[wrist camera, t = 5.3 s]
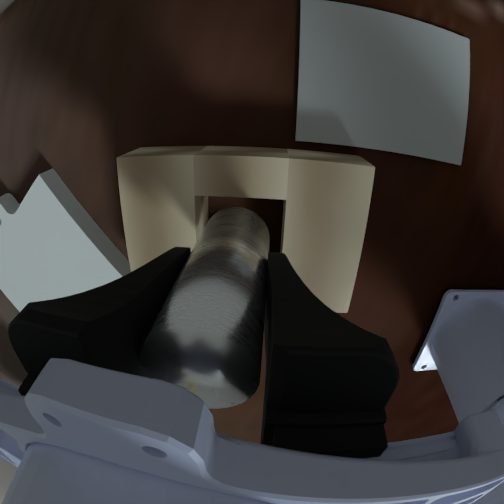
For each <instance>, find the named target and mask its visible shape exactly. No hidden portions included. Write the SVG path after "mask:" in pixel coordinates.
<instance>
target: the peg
mask: <svg viewBox="0 0 504 504" xmlns="http://www.w3.org/2000/svg"><path fill="white" fill-rule="evenodd" d="M269 243H270V236H269V231H268V228H267V225H266V224H265V222H264V221H263V219H262V218H261V217H260V216H259V215H257V214H256V213H255V212H253V211H251V210H249V209H246V208H242V207H229V208H225V209H222V210H220V211H218V212H217V213H215V214H214V215H213V216H212V217H211V218H210V220H209V221H208V223H207V224H206V226H205V228H204V230H203V232H202V233H201V235H200V237H199V239H198V241H197V242H196V244H195V246H194V248H193V250H192V252H191V253H190V255H189V257H188V259H187V261H186V263H185V264H184V266H183V268H182V270H181V272H180V274H179V276H178V278H177V279H176V281H175V283H174V285H173V287H172V289H171V291H170V293H169V295H168V297H167V299H166V300H165V302H164V304H163V306H162V308H161V310H160V312H159V314H158V316H157V318H156V320H155V322H154V324H153V326H152V328H151V330H150V332H149V334H148V336H147V338H146V340H145V342H144V344H143V346H142V349H141V353H140V361H141V366H142V368H143V371H144V373H145V374H146V376H147V377H149V378H154V379H160V380H163V381H166V382H169V383H172V384H175V385H178V386H182V387H184V388H185V389H187V390H188V391H190V392H191V393H193V394H194V395H196V396H197V397H199V398H200V399H202V400H203V401H204V402H205V404H206V406H207V407H208V408H226V407H231V406H235V405H238V404H240V403H242V402H244V401H246V400H248V399H249V398H250V397H251V396H252V395H253V394H254V393H255V392H256V390H257V388H258V386H259V382H260V372H261V359H262V346H263V332H264V318H265V304H266V289H267V263H268V252H269Z"/></svg>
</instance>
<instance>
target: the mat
mask: <svg viewBox="0 0 504 504" xmlns="http://www.w3.org/2000/svg"><path fill="white" fill-rule="evenodd" d="M469 81H470V41H469V39H468V38H465V37H463V36H460V35H458V34H455V33H453V32H450V31H447V30H445V29H442V28H439V27H436V26H434V25H431V24H428V23H424V22H421V21H418V20H415V19H411V18H408V17H404V16H401V15H397V14H393V13H389V12H385V11H381V10H377V9H372V8H367V7H362V6H357V5H352V4H346V3H340V2H333V1H325V0H300V45H299V74H298V98H297V118H296V136H295V141H306V142H317V143H327V144H337V145H346V146H354V147H362V148H369V149H376V150H383V151H389V152H395V153H401V154H407V155H413V156H418V157H423V158H428V159H433V160H438V161H443V162H447V163H452V164H456V165H461V162H462V156H463V149H464V141H465V133H466V124H467V114H468V101H469Z"/></svg>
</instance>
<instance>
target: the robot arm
mask: <svg viewBox="0 0 504 504" xmlns="http://www.w3.org/2000/svg"><path fill="white" fill-rule="evenodd" d="M190 253H191V249H190V247H174V248H172V249H170V250H168V251H166V252H165V253H163V254H161V255H160V256H158V257H156V258H155V259H153V260H151V261H150V262H148V263H146V264H145V265H143V266H141V267H139V268H138V269H136V270H134V271H132V272H130V273H128V274H127V275H125V276H123V277H121V278H119V279H116V280H114V281H112V282H110V283H107V284H105V285H102V286H99V287H97V288H94V289H91V290H88V291H85V292H82V293H78V294H74V295H71V296H66V297H62V298H57V299H52V300H45V301H38V302H29V303H28V304H27V305H26V306H25V307H24V308H23V309H22V311H21V312H20V313H19V314H18V315H17V316H16V317H15V318H14V319H13V320H12V322H11V323H10V324H9V329H8V332H9V338H10V341H11V344H12V346H13V348H14V350H15V352H16V354H17V356H18V357H19V359H20V361H21V363H22V364H23V366H24V368H25V370H26V371H27V373H28V376H27V377H26V378H25V380H24V381H23V383H22V384H21V386H20V387H17V386H15V385H12V384H10V383H8V382H6V381H4V380H2V379H0V455H1V456H2V457H3V458H5V459H6V460H8V461H9V462H11V463H12V464H14V465H15V466H17V467H18V469H17V471H16V473H15V475H14V477H13V480H12V482H11V484H10V486H9V488H8V490H7V493H6V495H5V498H4V500H3V502H2V504H504V290H456V289H451V290H448V291H446V292H445V294H444V295H443V298H442V301H441V303H440V306H439V308H438V311H437V313H436V316H435V318H434V320H433V323H432V325H431V327H430V330H429V332H428V334H427V336H426V339H425V341H424V343H423V345H422V347H421V349H420V351H419V353H418V355H417V357H416V360H415V362H414V364H413V369H414V370H415V371H422V370H433V369H437V370H438V372H439V374H440V377H441V379H442V381H443V384H444V386H445V389H446V391H447V394H448V396H449V399H450V401H451V404H452V406H453V409H454V412H455V414H456V417H457V420H458V422H459V425H458V426H457V427H456V429H455V431H453V432H449V433H444V434H439V435H434V436H429V437H424V438H418V439H412V440H405V441H398V442H391V443H387V439H386V434H385V429H384V425H383V423H385V422H386V418H387V417H386V413H385V409H384V408H385V406H386V405H387V403H388V401H389V399H390V398H391V396H392V394H393V392H394V390H395V388H396V387H397V384H398V381H399V368H398V365H397V363H396V360H395V357H394V355H393V352H392V350H391V348H390V346H389V344H388V342H387V340H386V339H385V338H382V337H380V336H378V335H375V334H373V333H371V332H368V331H366V330H364V329H362V328H360V327H358V326H356V325H355V324H353V323H351V322H349V321H348V320H346V319H344V318H343V317H341V316H340V315H338V314H337V313H336V312H334V311H333V310H331V309H330V308H329V307H327V306H326V305H325V304H324V303H323V302H322V301H321V300H319V299H318V298H317V297H316V296H315V295H314V294H313V293H312V292H311V291H310V290H309V288H308V287H307V286H306V285H305V284H304V282H303V281H302V280H301V278H300V277H299V276H298V274H297V273H296V271H295V270H294V268H293V267H292V265H291V263H290V262H289V260H288V258H287V256H286V255H285V254H284V253H271V252H268V263H267V289H266V304H265V318H264V329H265V351H266V378H265V393H264V406H263V420H262V432H261V444H259V443H255V442H250V441H246V440H242V439H238V438H234V437H230V436H226V435H223V434H219V433H216V432H215V429H214V423H213V416H212V414H211V412H210V411H209V409H208V407H207V406H206V404H205V402H204V401H203V400H202V399H200V398H199V397H197V396H196V395H194V394H193V393H191V392H190V391H188V390H187V389H185V388H184V387H182V386H178V385H175V384H172V383H169V382H166V381H163V380H160V379H154V378H149V377H147V376H146V374H145V373H144V371H143V368H142V366H141V361H140V353H141V349H142V346H143V344H144V342H145V340H146V338H147V336H148V334H149V332H150V330H151V328H152V326H153V324H154V322H155V320H156V318H157V316H158V314H159V312H160V310H161V308H162V306H163V304H164V302H165V300H166V299H167V297H168V295H169V293H170V291H171V289H172V287H173V285H174V283H175V281H176V279H177V278H178V276H179V274H180V272H181V270H182V268H183V266H184V264H185V263H186V261H187V259H188V257H189V255H190ZM454 296H456V297H454Z"/></svg>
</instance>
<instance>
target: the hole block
mask: <svg viewBox="0 0 504 504" xmlns="http://www.w3.org/2000/svg"><path fill="white" fill-rule="evenodd" d="M116 158H117V171H118V182H119V192H120V201H121V209H122V217H123V225H124V232H125V238H126V245H127V251H128V257H129V263H130V269H131V272H132V271H134V270H136V269H138V268H139V267H141V266H143V265H145V264H146V263H148V262H150V261H151V260H153V259H155V258H156V257H158V256H160V255H161V254H163V253H165V252H166V251H168V250H170V249H172V248H174V247H190V249H191V252H192V250H193V248H194V246H195V244H196V242H197V241H198V239H199V237H200V235H201V233H202V232H203V230H204V228H205V226H206V224H207V223H208V221H209V213H208V196H221V197H244V198H264V199H280V200H284V206H283V220H282V233H281V247H280V253H284V254H285V255H286V256H287V258H288V260H289V262H290V263H291V265H292V267H293V268H294V270H295V271H296V273H297V274H298V276H299V277H300V278H301V280H302V281H303V282H304V284H305V285H306V286H307V287H308V288H309V290H310V291H311V292H312V293H313V294H314V295H315V296H316V297H317V298H318V299H319V300H321V301H322V302H323V303H324V304H325V305H326V306H327V307H329V308H330V309H331V310H333V311H334V312H340V313H348V309H349V305H350V300H351V296H352V292H353V288H354V283H355V279H356V275H357V270H358V265H359V261H360V256H361V251H362V246H363V241H364V235H365V230H366V224H367V219H368V213H369V207H370V201H371V194H372V187H373V181H374V173H375V166H373V165H372V164H370V163H369V162H368V161H366V160H365V159H363V158H362V157H360V156H358V155H349V154H341V153H331V152H321V151H310V150H297V149H283V148H265V147H240V146H165V147H141V148H138V149H136V150H133V151H131V152H128V153H126V154H124V155H121V156H119V157H116ZM271 253H277V252H271Z"/></svg>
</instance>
